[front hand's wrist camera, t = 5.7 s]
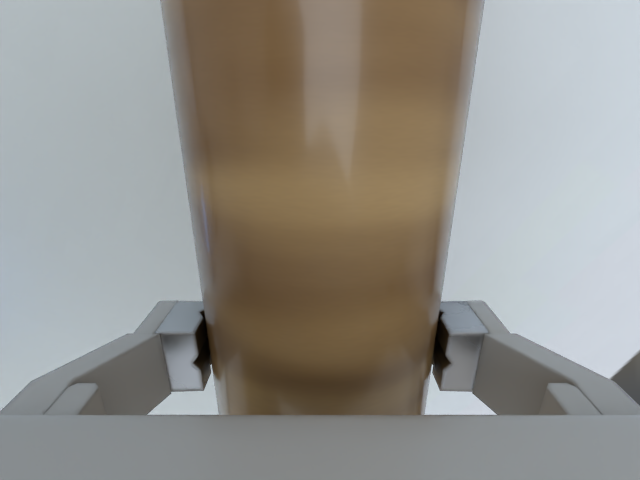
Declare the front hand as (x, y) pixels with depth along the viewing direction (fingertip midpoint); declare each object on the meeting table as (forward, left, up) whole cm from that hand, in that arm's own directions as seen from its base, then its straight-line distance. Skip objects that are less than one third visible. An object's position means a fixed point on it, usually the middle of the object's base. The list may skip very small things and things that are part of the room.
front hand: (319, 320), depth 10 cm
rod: (+8, +5, -3) cm, 10 cm away
